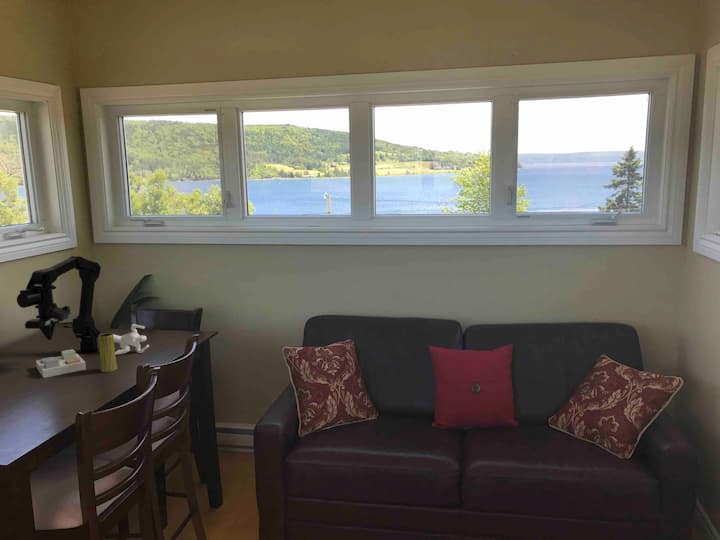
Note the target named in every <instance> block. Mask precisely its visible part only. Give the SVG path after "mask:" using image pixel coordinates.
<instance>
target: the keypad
mask: <svg viewBox="0 0 720 540" xmlns="http://www.w3.org/2000/svg"><path fill="white" fill-rule="evenodd" d="M75 353H76V352H75ZM56 357H57V359H58V360H59V366H58V367H53V368H47V369H46V368H45V366H44V364H42V363H41V359H38V360H35V363H36V364H35V365H36V369H37V371H38V372H39V373H40V374H39V375H41V376H42V378H43V379H44V378H50V377H55V376H60V375H65V374H69V373H70V374H71V373H74V372H79V371H85V370H87V368H86V366H87V365H86V364H87V363H86V361H85V360H84V359H83V358H82V357H81V356H80V355H79V354H78V353H76V357H78V358H79V359H80V362H79V363H73V364H68V365H67V364H66V361H65V360H63V359H62V355H61V356H56Z"/></svg>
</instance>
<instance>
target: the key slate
mask: <svg viewBox="0 0 720 540" xmlns="http://www.w3.org/2000/svg"><path fill="white" fill-rule="evenodd" d="M49 358H54V356H49V357H43V358H40V360H41V363H42V364H44V359H49Z"/></svg>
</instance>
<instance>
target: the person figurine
mask: <svg viewBox="0 0 720 540" xmlns="http://www.w3.org/2000/svg"><path fill="white" fill-rule="evenodd" d="M136 328H138V329H143V330H144V329H145V328H146V326H145V325H140V324H139V325H138V324H136V323H133V324H131V325H130V331H131V332H129V333H126V334H123V335H117V334H113V338H114V343H116V344H117V343H118V344H119V347H120V348H121V349H118V350H115V356H116V355H124V354H126V353H128V352H130V351H131V346H132V347H135V351H136V352H137V353H138V354H142V353H143V352H145V350H146V349H148V348H149V347H150V345H149V344H146V345H145V346H144V347H143V348H141V344H140V342H142V343H144V342H146V341H147V336H146V335H143V334H142V335H140V334H139V333H138V330H137V329H136Z"/></svg>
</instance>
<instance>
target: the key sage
mask: <svg viewBox="0 0 720 540" xmlns="http://www.w3.org/2000/svg"><path fill="white" fill-rule="evenodd" d="M60 353H61V356H62V359H63V360H65V359H71V358H76V350H74V349H73V348H71V349H64V350H62V351H60Z"/></svg>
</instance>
